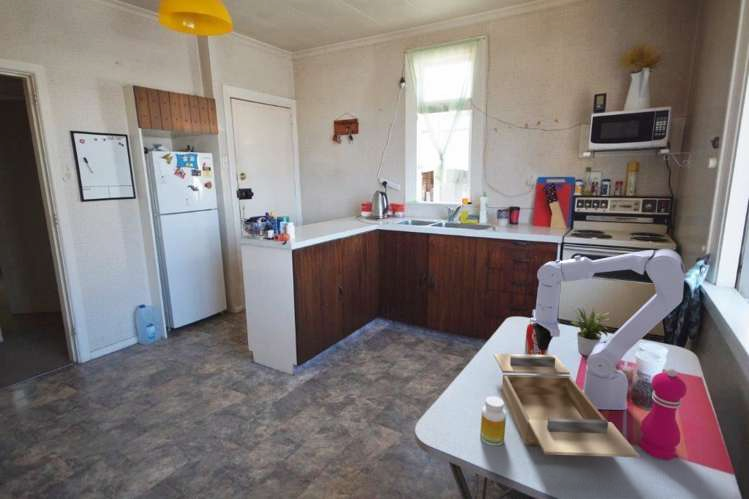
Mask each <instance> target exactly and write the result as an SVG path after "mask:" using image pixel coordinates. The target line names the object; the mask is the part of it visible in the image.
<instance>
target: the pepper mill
mask: <svg viewBox="0 0 749 499" xmlns="http://www.w3.org/2000/svg"><path fill="white" fill-rule="evenodd" d="M651 379H652V380H651V388H652V389H653V391H652V395H651V398H652V400H653V405H652V408H651V410H650V411H649V412H648V414H646V416H644V417H643V419H642V420H641V422H640V423H641V424H640V428H639V430H640V432H641V436H640V441H639V442H640V443H639V444H640V447H641V449H642V450H643V451H644V452H645V453H647V454H648V455H650V456H652V457H654V458H657V459H659V460H672V459H673V458H674V457H675V454H676V447H678V446H679V445H680V444H681V431H680V428H679V425H678V423H677V419H676V412H677V410H678V408H680V407H681V403H682V398H684V397H685V396H686V393H687V385H686V383H685V381H684V380H683V379H682V378H681V377H679V376H677V371H676V370H675V369H674V368H671V367H668V368H666V370H665V372H660V373H656V374H655V375H654V376H653V377H652V378H651Z"/></svg>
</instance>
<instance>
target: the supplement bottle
mask: <svg viewBox="0 0 749 499" xmlns="http://www.w3.org/2000/svg"><path fill="white" fill-rule="evenodd" d="M504 402H505V401H504V399H502V398H500V397H497V396H487V397H486V398H485V401H484V404H485V405H484V406H482V408H481V418H480V430H479V432H480V433H479V435H480V439H481V440H482V441H483V442H484V444H485V443H486V445H489V446H495V447H496V446H500V445H502V444H503V443H504V442H505V435H506V434H505V431H506V422H507V412H506V410H505V409H504V405H505V403H504Z"/></svg>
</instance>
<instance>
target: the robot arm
mask: <svg viewBox="0 0 749 499" xmlns="http://www.w3.org/2000/svg"><path fill="white" fill-rule="evenodd" d="M685 269H686V268H685V265H684V263H683V260H682V257H681V255H680V254H679V253H678V252H677V251H675V250H672V249H671V248H670V249H669V248H661V249H658V250H653V249H650V250H647V249H646V250H641V251H636V252H635V251H633V252H630V253H625V254H620V255H615V256H610V257H609V256H608V257H605V258H600V259H599V258H598V259H595V260H593V259H591V258H588V257H587V256H582V255H575V256H574V257H573V258H571V259H565V260H561V259H556V260H555V261H548V262H546V263H544V264H543V265H541V266H540V267H539V268H538V270H537V273H536V276H537V277H536V278H537V279H538V286H537V293H536V294H537V296H536V303H535V309H532V316H533V317H530V321H532V322H535V323H533V324H532V325H533V327H534V330H535V333H536V338H537V346H538V349H539V350H547V348H548V349H549V347H550V343H551V341H552V339H553V338H555V337H556V338H559V337H560V334H561V329H560V328H559V322H558V315H559V314H558V313H559V306H560V305H559V304H560V298H561V283H562V282H563V283H567V282H574V281H575V282H576V281H580V280H589V279H591V278H592V277H594V275H595V274H597V273H607V272H614V271H624V270H625V271H627V270H631V271H632V272H633V271H634V272H635V273H637V274H639V275H642V276H643V275H644V273H645V271H646V273H647V275H648V277H649V278H650V280H651V281H652V282H653V286H654V289H655V294H654V295H652V296H651V297H650V298H649V300H647V302H645V303H644V304H643V305H642V306H641V307H640V308H639V309H638V310H637V311H636V312H635V313H634V314H633V315H632V316H631V317H630V318H629V319H627V321H625V323H624V324H622V326H620V328H618V329H617V330H616V331H615V332H614V333H613V334H612V335H610V336H608V337H607V339H605V340H603V341H600V342H598V343H597V344H596V345H595V346H594V348H593V351H592V353H591V355H590V356H587V359H586V369H585V375H584V383H583V390H582V389H581V390H582V391H583V392H584V394H585V395H586V396H587V397H588V399H589V400H590V401H591V402H592V403H593V405H594V406H595V407H596V408H597V410H614V411H627V407H626V402H627V395H628V390H629V382H628V378H627V376H626V374H625V373H624V372H623V371H622V370H618V369H617V368H616V366H617V364H618V363H620V362H621V361H622V359H623V358H624V357H625V355H626V354H627V352H628V351H630V349H632V348H633V347H634V346H635V345H636V344H637V343H638V342H639V341H641V339H643V337H645V336H646V335H647V334H648V333H649V332H651V330H653V329H654V328H655V326H657V325H658V324H659V323H661V321H662V320H663V319H664V318H666V316H668V315H669V314H671V312H673V310H675V308H677V307H678V306H679V305H680V304H681V303H682V302H683V298H684V285H685ZM548 346H549V347H548Z"/></svg>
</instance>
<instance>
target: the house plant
mask: <svg viewBox="0 0 749 499" xmlns="http://www.w3.org/2000/svg"><path fill="white" fill-rule="evenodd" d="M568 308H569V309H572V310H573V311H574V312H575V313H576V315H577V316H578V317H577V316H576V318H577V319H578V321H579V322H580V323H579V322H578V321H575V320H573V321H571V322H570V323H571V325H574V326H576V327H577V328H579V330H580V331H577V333H576V335H577V336H576V337H577V350H578V353H579V354H581V355H583V356H586V357H589V356H590V355H591V353H592V351H593V348H594V346H595V345H596V344H597V343H598V342H601V339H602V335H603V334H604V335H605V336H606V337H608V332H606V331H605V330H608V328H607V327H606V326H609V324H605V325H602V324H601V323H602V321H603V319H604V320H605V321H607V320H608V318H606V317H607V315H608V314H609V315H610V313H611V311H608V312H605V313H603V314H602V315H600V314H601V312H599V313H597V314H596V312H595V309H596V307H593V308H592V310H591V314H590V316H589V318H587V316H586V312H585V310H584V309H583V308H577V310H578V311H579V313H580V314H578V312H577V311H576V310H575V309H574V308H571V307H569V306H568ZM598 315H600V317H597V316H598ZM595 317H597V319H596V320H595ZM605 318H606V319H605Z"/></svg>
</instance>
